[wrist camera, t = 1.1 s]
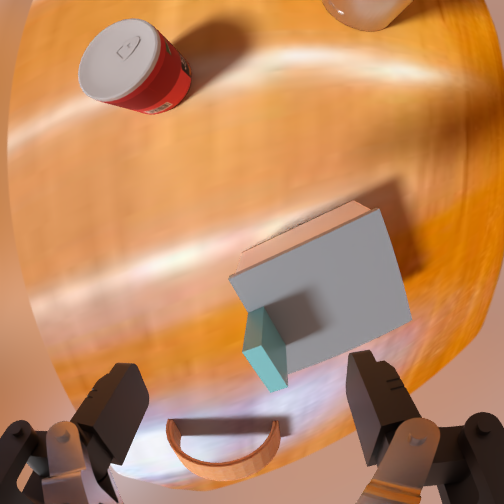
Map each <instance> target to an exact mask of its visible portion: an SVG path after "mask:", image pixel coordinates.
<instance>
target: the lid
mask: <svg viewBox="0 0 504 504" xmlns="http://www.w3.org/2000/svg"><path fill="white" fill-rule="evenodd" d="M229 281H230V283H231V284H232V286H233V288H234V290H235V291H236V293H237V295H238V296H239V298H240V300H241V301H242V303H243V305H244V307H245V308H246V310H247V312H248V318H247V324H246V331H245V337H244V344H243V350H242V353H243V354H244V356H245V357H246V358H247V360H248V361H249V363H250V364H251V366H252V367H253V369H254V370H255V371H256V373H257V374H258V376H259V377H260V379H261V380H262V381H263V383H264V384H265V386H266V387H267V388H268V390H269V391H270V393H271V392H274V391H277V390H280V389H284V388H287V387H288V376H287V374H290V373H293V372H296V371H299V370H301V369H304V368H307V367H309V366H312V365H315V364H317V363H320V362H322V361H325V360H327V359H330V358H332V357H335V356H337V355H340V354H342V353H344V352H347V351H349V350H351V349H354V348H356V347H358V346H360V345H363V344H365V343H367V342H369V341H371V340H373V339H375V338H378V337H380V336H382V335H384V334H386V333H388V332H390V331H392V330H394V329H396V328H398V327H400V326H402V325H404V324H406V323H408V322H409V321H411V320H412V317H411V313H410V309H409V304H408V300H407V296H406V292H405V288H404V285H403V281H402V277H401V274H400V270H399V267H398V263H397V260H396V257H395V253H394V250H393V247H392V244H391V241H390V238H389V235H388V232H387V229H386V226H385V223H384V220H383V217H382V215H381V212H380V209H379V208H377V207H376V208H374V209H372V210H369V211H367V212H365V213H363V214H361V215H359V216H357V217H355V218H353V219H351V220H348V221H346V222H344V223H342V224H340V225H338V226H336V227H334V228H331V229H329V230H327V231H325V232H323V233H321V234H319V235H317V236H314V237H312V238H310V239H308V240H306V241H304V242H302V243H299V244H297V245H295V246H293V247H291V248H289V249H287V250H284V251H282V252H280V253H278V254H276V255H274V256H271V257H269V258H267V259H265V260H263V261H261V262H258V263H256V264H254V265H252V266H250V267H248V268H245V269H243V270H241V271H239V272H237V273H234V274H232V275H230V276H229Z"/></svg>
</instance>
